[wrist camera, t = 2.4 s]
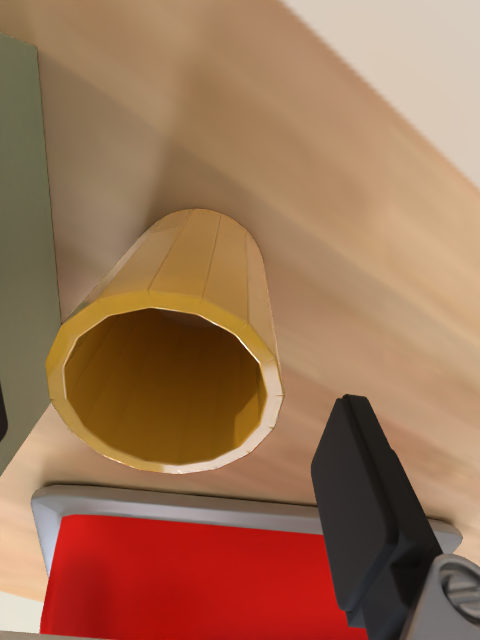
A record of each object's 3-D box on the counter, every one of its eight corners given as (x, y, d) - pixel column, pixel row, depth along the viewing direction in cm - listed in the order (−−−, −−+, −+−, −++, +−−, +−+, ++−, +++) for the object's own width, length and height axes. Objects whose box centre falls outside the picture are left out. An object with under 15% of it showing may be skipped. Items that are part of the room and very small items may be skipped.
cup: (136, 196, 16) (32, 270, 8) (277, 221, 16) (310, 313, 8) (133, 320, 19) (55, 461, 11) (251, 337, 19) (257, 484, 11)
